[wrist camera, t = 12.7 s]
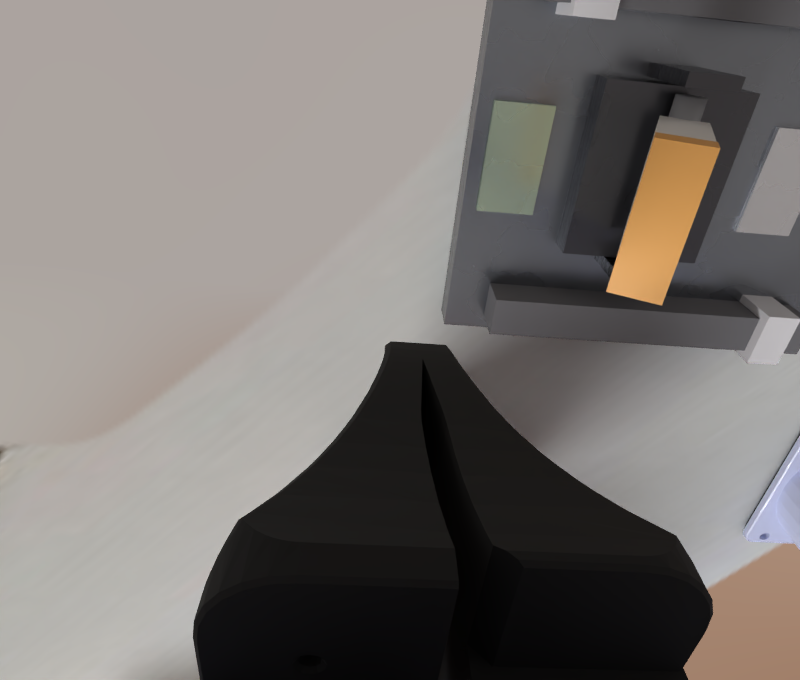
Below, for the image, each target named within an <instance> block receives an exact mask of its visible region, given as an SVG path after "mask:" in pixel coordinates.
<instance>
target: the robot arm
mask: <svg viewBox="0 0 800 680" xmlns="http://www.w3.org/2000/svg"><path fill="white" fill-rule="evenodd" d="M743 535H744V537H745V538H746V540H748V541H751V542H772V543H795V544H796V546H797V547H798V548H799V550H800V436H799V438H798V439H797V441H796V443H795V444H794V446H793V448H792V449H791V451H790V453H789V454H788V456H787V458H786V460H785V461H784V463H783V465H782V466H781V468H780V470H779V471H778V473H777V475H776V476H775V478H774V480H773V481H772V483H771V485H770V486H769V488H768V490H767V491H766V493H765V495H764V496H763V498H762V500H761V501H760V503H759V505H758V507H757V508H756V510H755V512H754V513H753V515H752V517H751V518H750V520H749V522H748V523H747V525H746V527H745V528H744V530H743ZM712 605H713V604H712V598H711V596H710V594H709V593H708V591H707V589H706V587H705V585H704V583H703V581H702V579H701V577H700V575H699V573H698V572H697V570H696V568H695V566H694V564H693V562H692V560H691V559H690V557H689V555H688V554H687V552H686V551H685V549H684V547H683V546H682V544H681V543H680V541H679V540H678V538H677V536H676V535H674V534H672V533H670V532H668V531H666V530H664V529H662V528H660V527H658V526H656V525H654V524H652V523H650V522H648V521H646V520H644V519H642V518H640V517H639V516H637V515H635V514H633V513H631V512H629V511H627V510H625V509H623V508H622V507H620V506H618V505H616V504H615V503H613V502H611V501H610V500H608V499H607V498H605V497H603V496H602V495H600V494H598V493H597V492H595V491H593V490H592V489H590V488H589V487H587V486H586V485H584V484H583V483H581V482H580V481H578V480H577V479H575V478H574V477H572V476H571V475H570V474H568V473H567V472H566V471H564V470H563V469H562V468H560V467H559V466H557V465H556V464H555V463H553V462H552V461H551V460H549V459H548V458H547V457H546V456H544V455H543V454H542V453H541V452H539V451H538V450H537V449H536V448H535V447H534V446H533V445H532V444H530V443H529V442H528V441H527V440H526V439H525V438H524V437H522V436H521V435H520V434H519V433H518V432H517V431H516V430H515V429H514V428H513V427H512V426H511V425H510V424H509V423H508V422H507V421H506V420H505V419H504V418H503V417H502V416H501V415H500V414H499V413H498V412H497V411H496V409H495V408H494V407H493V406H492V405H491V404H490V403H489V401H488V400H487V399H486V398H485V396H484V395H483V394H482V393H481V392H480V390H479V389H478V388H477V387H476V385H475V384H474V383H473V381H472V380H471V379H470V377H469V376H468V375H467V373H466V372H465V371H464V369H463V368H462V367H461V365H460V364H459V362H458V361H457V359H456V358H455V357H454V355H453V354H452V352H451V351H450V349H449V348H448V347H447V346H446V345H437V344H422V343H406V342H390V343H388V344H387V345H386V346H385V354H384V358H383V361H382V364H381V366H380V369H379V371H378V374H377V376H376V378H375V380H374V382H373V384H372V386H371V388H370V390H369V391H368V393H367V395H366V396H365V398H364V400H363V401H362V403H361V404H360V406H359V407H358V409H357V411H356V412H355V414H354V415H353V417H352V418H351V419H350V421H349V422H348V424H347V425H346V426H345V427H344V429H343V430H342V431H341V432H340V434H339V435H338V436H337V437H336V439H335V440H334V441H333V442H332V443H331V444H330V445H329V446H328V447H327V449H326V450H325V451H324V452H323V453H322V454H321V455H320V456H319V457H318V458H317V459H316V460H315V461H314V462H313V463H312V464H311V465H310V466H309V467H308V468H307V469H306V470H304V471H303V472H302V473H301V474H300V475H299V476H297V477H296V478H295V479H294V480H293V481H292V482H290V483H289V484H288V485H287V486H286V487H285V488H283V489H282V490H281V491H280V492H278V493H277V494H276V495H274V496H273V497H272V498H270V499H269V500H267V501H266V502H264V503H263V504H261V505H260V506H259V507H257V508H256V509H254V510H253V511H251V512H250V513H248V514H247V515H246V516H244V517H242V518H241V519H239V520H238V522H237V523H236V525H235V526H234V528H233V530H232V532H231V533H230V535H229V537H228V538H227V540H226V542H225V544H224V546H223V547H222V549H221V551H220V553H219V555H218V557H217V559H216V561H215V563H214V566H213V568H212V570H211V572H210V574H209V577H208V579H207V582H206V584H205V587H204V590H203V593H202V597H201V600H200V603H199V607H198V610H197V613H196V616H195V620H194V629H193V640H194V646H195V652H196V658H197V664H198V670H199V676H200V680H688V678H687V676H686V673H685V671H684V669H683V667H684V665H685V663H686V662H687V660H688V659H689V657H690V655H691V654H692V652H693V651H694V649H695V647H696V646H697V644H698V643H699V641H700V640H701V638H702V637H703V635H704V633H705V631H706V629H707V627H708V625H709V622H710V620H711V617H712V615H713V606H712Z"/></svg>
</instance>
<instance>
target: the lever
mask: <svg viewBox="0 0 800 680" xmlns="http://www.w3.org/2000/svg"><path fill="white" fill-rule="evenodd" d="M707 101H708V98H705V97H701V96H695V95H688V94H675V98H674V101H673V104H672V107H671V110H670V113H669V116H668V117H667V116H661V115H660V116H659V120H658V123H657V126H656V129H655V133H654V136H653V139H652V142H651V145H650V149H649V152H648V155H647V158H646V162H645V165H644V168H643V171H642V174H641V178H640V181H639V184H638V187H637V191H636V194H635V197H634V200H633V203H632V207H631V210H630V213H629V216H628V220H627V223H626V226H625V229H624V232H623V236H622V239H621V242H620V246H619V250H618V253H617V257H616V260H615V264H614V267H613V270H612V273H611V276H610V280H609V283H608V287H607V290H606V292H609V293H613V294H617V295H621V296H625V297H629V298H633V299H637V300H641V301H645V302H650V303H654V304H658V305H662V304H663V301H664V298H665V296H666V293H667V290H668V288H669V285H670V282H671V280H672V277H673V274H674V272H675V269H676V266H677V264H678V261H679V258H680V256H681V253H682V250H683V248H684V245H685V242H686V240H687V237H688V234H689V231H690V229H691V226H692V223H693V221H694V218H695V215H696V213H697V210H698V207H699V205H700V202H701V199H702V197H703V194H704V191H705V189H706V186H707V183H708V181H709V178H710V175H711V173H712V170H713V167H714V165H715V162H716V159H717V156H718V154H719V151H720V146H719V143H718V142H717V141H716V138H715V135H714V132H713V130H712V127H711V124H710V123H707V122H700V121H701V118H702V115H703V112H704V109H705V107H706V104H707Z"/></svg>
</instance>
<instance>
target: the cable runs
mask: <svg viewBox="0 0 800 680" xmlns="http://www.w3.org/2000/svg"><path fill="white" fill-rule="evenodd" d="M544 1H549V2H557V7H556V12H555V14H559V15H568V16H578V17H587V18H597V19H608V20H615V19H616V15H617V11H618V9H623V10H632V11H641V12H650V13H660V14H669V15H678V16H687V17H696V18H706V19H715V20H724V21H733V22H742V23H752V24H761V25H770V26H779V27H788V28H798V29H800V0H544ZM484 317H485V321H486V324H487V327H488V330H489V333H490V334H502V335H517V336H532V337H547V338H562V339H577V340H592V341H607V342H622V343H637V344H651V345H666V346H681V347H696V348H711V349H726V350H735V351H736V352H737V353H738V354H739V355H740V356H741V357H742V358H743V359H744V360H745V361H746V362H747V363H754V364H769V365H777V364H778V362H779V361H780V359H781V357H782V355H783V353H786V354H797V352H798V351H799V349H800V312H799V311H797V310H796V309H795V308H793V307H792V306H791V305H782V304H781V303H779V302H778V301H777V300H776V299H774V298H773V297H769V296H755V295H742V297H741V299H740V301H727V300H713V299H700V298H686V297H672V296H665V298H664V301H663V304H662V305H658V304H654V303H650V302H645V301H641V300H637V299H633V298H629V297H625V296H621V295H617V294H613V293H609V292H604V291H590V290H577V289H563V288H549V287H536V286H522V285H509V284H495V283H490V286H489V291H488V297H487V302H486V307H485V312H484Z"/></svg>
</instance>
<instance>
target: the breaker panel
mask: <svg viewBox="0 0 800 680" xmlns="http://www.w3.org/2000/svg"><path fill="white" fill-rule="evenodd" d="M556 7H557V2H549V1H544V0H487V4H486V10H485V17H484V24H483V31H482V38H481V45H480V52H479V58H478V65H477V72H476V79H475V85H474V92H473V99H472V106H471V113H470V120H469V126H468V133H467V140H466V147H465V154H464V160H463V167H462V174H461V181H460V188H459V195H458V201H457V208H456V215H455V222H454V229H453V235H452V242H451V249H450V256H449V263H448V270H447V276H446V283H445V290H444V297H443V304H442V314H443V320H444V324H452V325H467V326H481V327H487V324H486V321H485V317H484V312H485V307H486V302H487V297H488V291H489V286H490V283H495V284H509V285H522V286H536V287H549V288H563V289H577V290H590V291H604V292H606V290H607V287H608V283H609V280H610V276H611V273H612V270H613V267H614V264H615V260H616V257H617V253H618V250H619V246H620V242H621V239H622V236H623V232H624V229H625V226H626V223H627V220H628V216H629V213H630V210H631V207H632V203H633V200H634V197H635V194H636V191H637V187H638V184H639V181H640V178H641V174H642V171H643V168H644V165H645V162H646V158H647V155H648V152H649V149H650V145H651V142H652V139H653V136H654V133H655V129H656V126H657V123H658V120H659V116H660V115H661V116H667V117H668V116H669V113H670V110H671V107H672V104H673V101H674V98H675V94H688V95H695V96H701V97H705V98H708V101H707V104H706V107H705V109H704V112H703V115H702V118H701V121H700V122H707V123H710V124H711V127H712V130H713V132H714V135H715V138H716V141H717V142H718V143H719V146H720V151H719V154H718V156H717V159H716V162H715V165H714V167H713V170H712V173H711V175H710V178H709V181H708V183H707V186H706V189H705V191H704V194H703V197H702V199H701V202H700V205H699V207H698V210H697V213H696V215H695V218H694V221H693V223H692V226H691V229H690V231H689V234H688V237H687V240H686V242H685V245H684V248H683V250H682V253H681V256H680V258H679V261H678V264H677V266H676V269H675V272H674V274H673V277H672V280H671V282H670V285H669V288H668V290H667V293H666V296H672V297H686V298H700V299H713V300H727V301H740V299H741V297H742V295H755V296H769V297H773V298H774V299H776V300H777V301H778V302H779V303H781V304H782V305H791V306H792V307H793V308H795V309H796V310H797V311H799V312H800V29H798V28H788V27H779V26H770V25H761V24H752V23H742V22H733V21H724V20H715V19H706V18H696V17H687V16H678V15H669V14H660V13H650V12H641V11H632V10H623V9H618V11H617V15H616V19H615V20H608V19H597V18H587V17H578V16H568V15H559V14H555V12H556Z"/></svg>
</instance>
